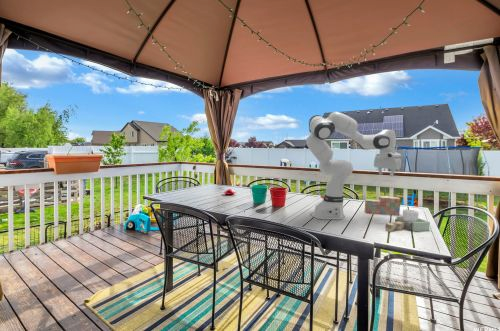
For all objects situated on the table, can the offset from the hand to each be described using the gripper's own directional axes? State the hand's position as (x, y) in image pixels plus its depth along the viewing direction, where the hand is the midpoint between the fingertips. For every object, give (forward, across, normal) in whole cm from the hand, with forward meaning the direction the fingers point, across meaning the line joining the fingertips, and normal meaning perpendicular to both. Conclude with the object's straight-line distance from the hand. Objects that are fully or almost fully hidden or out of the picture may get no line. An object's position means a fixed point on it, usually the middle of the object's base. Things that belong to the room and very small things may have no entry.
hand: (385, 175), depth 161 cm
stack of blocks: (+30, -11, +7) cm, 32 cm away
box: (+29, +19, +3) cm, 35 cm away
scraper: (+29, +20, -10) cm, 37 cm away
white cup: (+29, +19, +2) cm, 35 cm away
